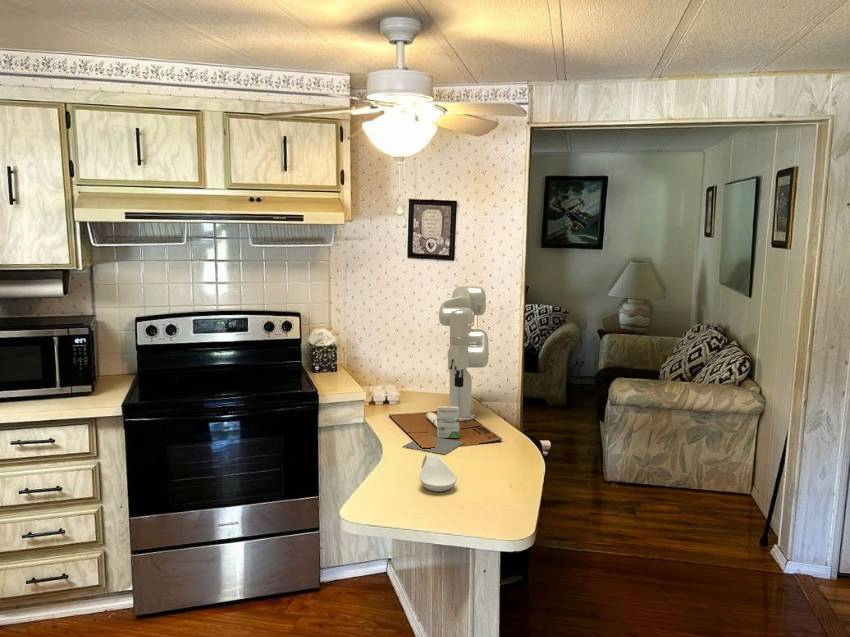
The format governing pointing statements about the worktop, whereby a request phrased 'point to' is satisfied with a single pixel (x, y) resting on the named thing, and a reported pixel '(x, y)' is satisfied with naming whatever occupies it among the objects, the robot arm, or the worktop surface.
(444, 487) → the spoon rest
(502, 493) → the worktop surface
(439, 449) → the mat
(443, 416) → the ink box
